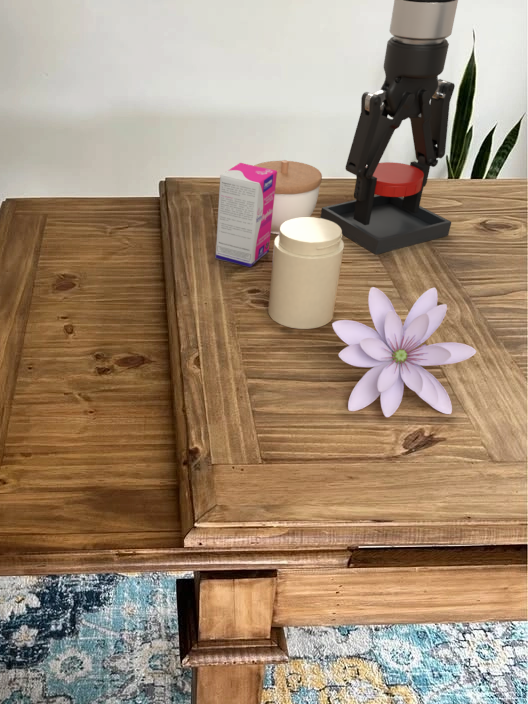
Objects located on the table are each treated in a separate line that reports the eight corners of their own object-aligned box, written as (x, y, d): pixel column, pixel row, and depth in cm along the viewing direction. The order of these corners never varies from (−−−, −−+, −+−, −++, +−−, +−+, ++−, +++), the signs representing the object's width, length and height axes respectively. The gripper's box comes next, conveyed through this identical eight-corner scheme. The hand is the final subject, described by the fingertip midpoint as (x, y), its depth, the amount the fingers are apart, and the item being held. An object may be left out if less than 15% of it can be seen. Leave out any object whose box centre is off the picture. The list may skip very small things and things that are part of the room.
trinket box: (274, 247, 104) (280, 180, 98) (229, 222, 111) (231, 158, 104) (330, 229, 108) (339, 164, 102) (283, 206, 115) (289, 143, 109)
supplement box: (252, 268, 99) (258, 183, 91) (214, 259, 101) (216, 174, 94) (271, 252, 103) (278, 168, 95) (233, 243, 105) (237, 161, 97)
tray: (448, 235, 106) (451, 221, 105) (375, 254, 102) (378, 240, 100) (388, 204, 115) (391, 191, 114) (319, 221, 111) (321, 207, 109)
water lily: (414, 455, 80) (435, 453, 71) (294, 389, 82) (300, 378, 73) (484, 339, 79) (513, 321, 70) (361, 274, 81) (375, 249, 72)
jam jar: (346, 319, 89) (361, 235, 82) (291, 335, 86) (301, 249, 79) (308, 291, 94) (318, 210, 87) (255, 306, 92) (262, 223, 84)
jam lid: (348, 182, 106) (350, 168, 104) (394, 171, 108) (397, 158, 107) (385, 201, 100) (388, 187, 99) (433, 190, 103) (436, 176, 101)
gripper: (461, 23, 98) (424, 193, 113) (332, 41, 91) (311, 220, 106) (503, 33, 93) (458, 210, 108) (370, 53, 86) (343, 239, 101)
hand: (385, 215), depth 107 cm, fingers closed on jam lid, 8 cm apart
